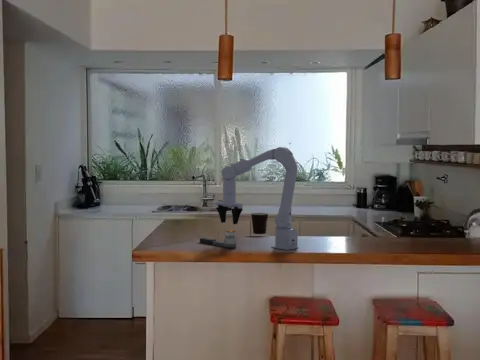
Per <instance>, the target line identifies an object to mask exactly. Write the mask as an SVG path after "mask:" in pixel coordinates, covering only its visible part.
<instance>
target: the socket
mask: <svg viewBox="0 0 480 360" xmlns="http://www.w3.org/2000/svg"><path fill="white" fill-rule="evenodd" d="M236 232H237V231H236V230H235V229H225V230H224V237H223V242H224V243H225V244H236V245H237V237H236V234H237V233H236Z"/></svg>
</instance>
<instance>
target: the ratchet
mask: <svg viewBox="0 0 480 360" xmlns="http://www.w3.org/2000/svg"><path fill="white" fill-rule="evenodd" d="M199 243H200V244H204V243H206V245H210V246H211V245H212V246H217V247H221V246H222V247H223V248H224V249H229V250H232V249H237V244H225V243H224V241H220V240H217V239H213V238H209V237H199Z"/></svg>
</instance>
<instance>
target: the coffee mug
mask: <svg viewBox="0 0 480 360" xmlns="http://www.w3.org/2000/svg"><path fill="white" fill-rule="evenodd" d="M250 216H251V224H252V225H251V226H252V231H253V232H252V233H253V234H255V235H265V234H266V233H267V228H268V227H267V226H268V218H269V217H268V216H269V213H267V212H266V213H265V212H252V213H251V215H250Z"/></svg>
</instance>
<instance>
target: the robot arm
mask: <svg viewBox="0 0 480 360" xmlns="http://www.w3.org/2000/svg"><path fill="white" fill-rule="evenodd" d="M270 160H271V161H274V160H275V161H276V162H278V163H279V164H280V165H282V166H283V168H284V169H285V176H284V182H283V188H282V193H281V199H280V206H279V209H278V213H277V214H276V215H275V219H274V223H275V233H274V234H275V236H274V238H275V239H274V243H275V245H271V246H270V247H271V248H274V249H279V250H285V251H288V250H289V251H290V250H295V249H298V248H299V247H300V246H298V237H299V236H298V231H297V229H294V228H293V226H292V224H291V223H292V222H293V216H292V215H293V214H292V211H293V210H292V206H293V205H292V204H293V199H294V192H295V187H296V180H297V173H298V169H299V168H298V163H297V161H296V159H295V157H294V154H293V152H292V151H291V150H290V149H289V148H288V147H286V146H278V147H276V148H273V149H269V150H266V151H264V152H263V153H260V154H258V155H256V156H255V157H254V156H253V157H252V158H250V159H248V158H243V157H242V158H240V159H239V161H237V162H234V163H233V162H232V163H230V166H229V165H227V166H224V167H223V168H222V170H221V176H222V182H223V183H222V201H216V207H215V209H216V211H217V213H218V215H219V219H220V223H221V224H223V223H226V220H227V211H228V208H230V211H231V215H232V224H233V225H237V224H238V223H239V219H240V216H241V213H242V211H243V203H238V202H236V200H237V199H236V197H237V196H236V195H237V191H236V190H237V189H236V188H237V182H236V177H238V176H241V175H243V174H245V173H248V172H250V171H251V170H252V168H253V166H254V167H255V166H257V165H258V164H261V163H263V162H265V161H270Z"/></svg>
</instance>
